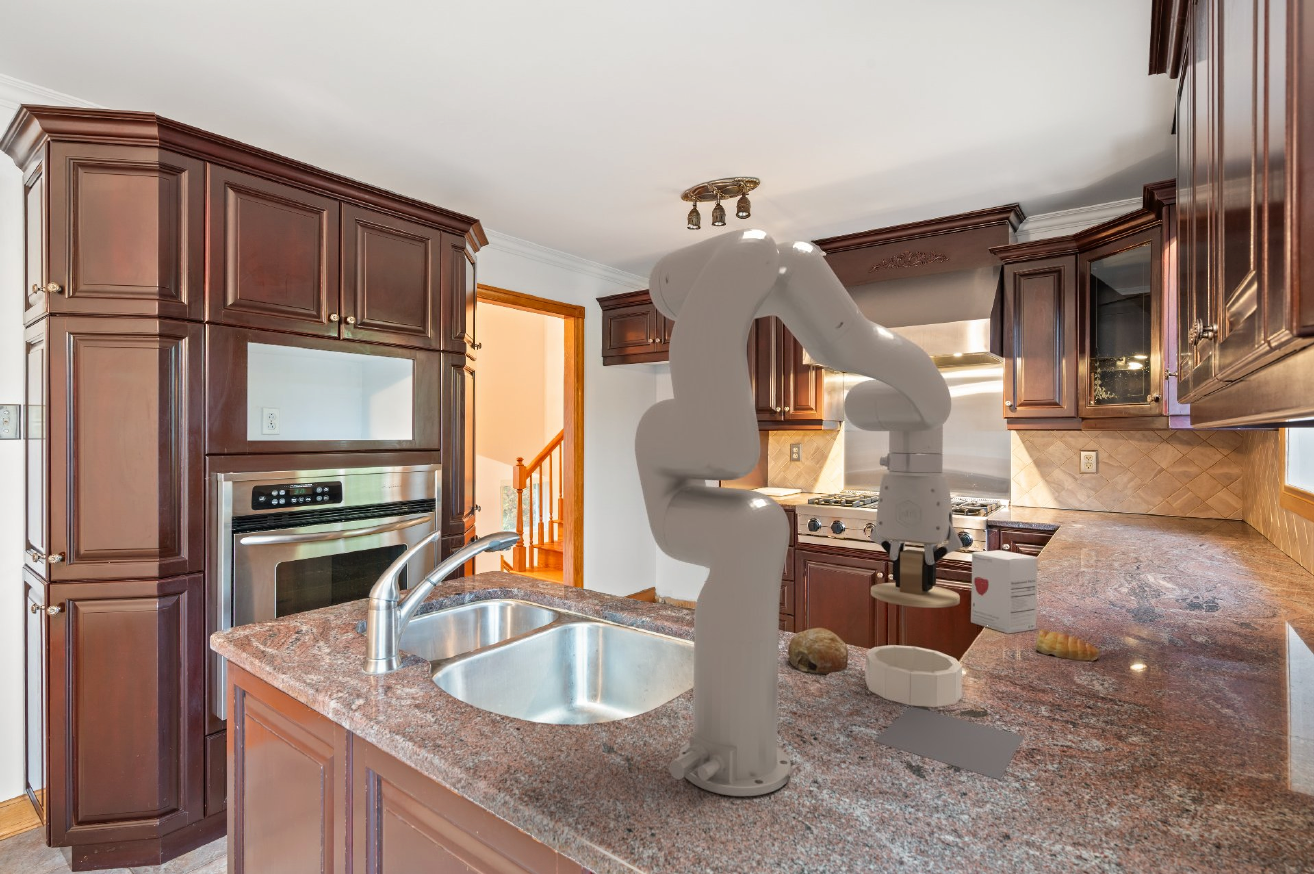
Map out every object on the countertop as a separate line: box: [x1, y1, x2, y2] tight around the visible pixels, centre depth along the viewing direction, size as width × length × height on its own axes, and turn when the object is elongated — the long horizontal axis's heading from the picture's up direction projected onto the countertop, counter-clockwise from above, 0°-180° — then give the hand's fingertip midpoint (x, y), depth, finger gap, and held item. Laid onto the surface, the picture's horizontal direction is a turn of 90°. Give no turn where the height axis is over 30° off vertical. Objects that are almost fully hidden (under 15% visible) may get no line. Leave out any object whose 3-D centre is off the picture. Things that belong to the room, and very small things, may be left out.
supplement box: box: [970, 549, 1039, 635], centre depth 135 cm, size 9×9×15 cm
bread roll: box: [787, 627, 849, 676], centre depth 109 cm, size 10×10×8 cm
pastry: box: [1034, 629, 1100, 662], centre depth 117 cm, size 9×7×4 cm
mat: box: [873, 705, 1025, 781], centre depth 81 cm, size 14×14×1 cm
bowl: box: [865, 644, 963, 708], centre depth 98 cm, size 13×13×5 cm
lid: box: [870, 549, 961, 609], centre depth 98 cm, size 12×12×7 cm
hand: (914, 586), depth 98 cm, fingers closed on lid, 3 cm apart
